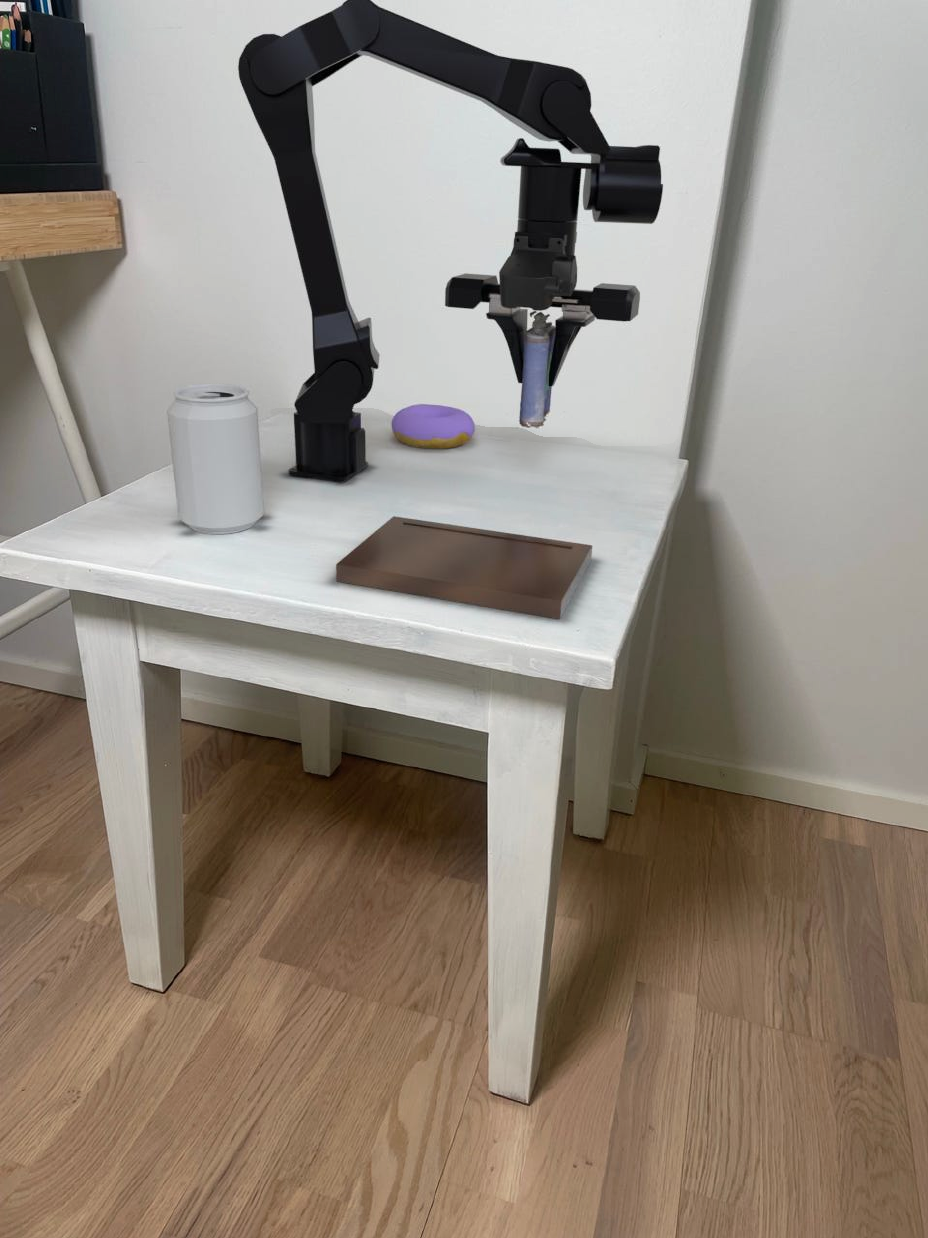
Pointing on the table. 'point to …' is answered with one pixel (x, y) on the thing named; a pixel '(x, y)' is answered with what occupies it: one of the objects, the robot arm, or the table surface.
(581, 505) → the table surface
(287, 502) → the table surface
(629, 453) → the table surface
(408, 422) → the donut
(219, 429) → the can
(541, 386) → the flask
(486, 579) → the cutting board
